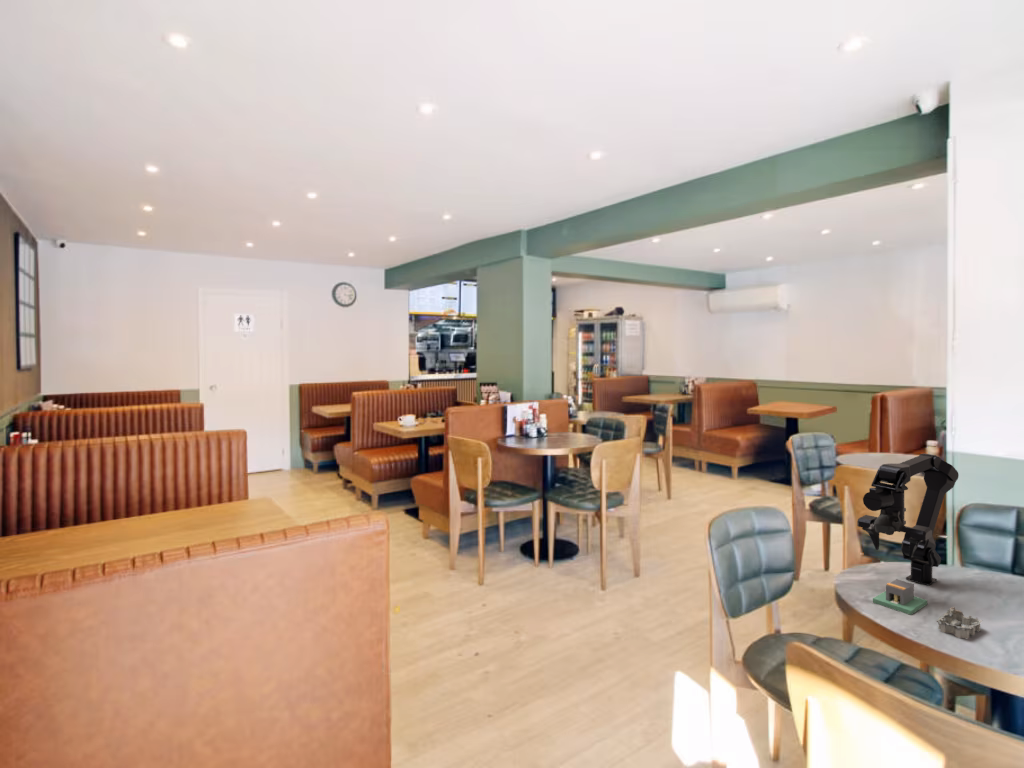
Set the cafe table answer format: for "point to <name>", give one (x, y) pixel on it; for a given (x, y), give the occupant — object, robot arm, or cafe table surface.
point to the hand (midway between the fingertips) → (893, 553)
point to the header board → (895, 603)
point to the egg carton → (958, 623)
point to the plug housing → (900, 591)
